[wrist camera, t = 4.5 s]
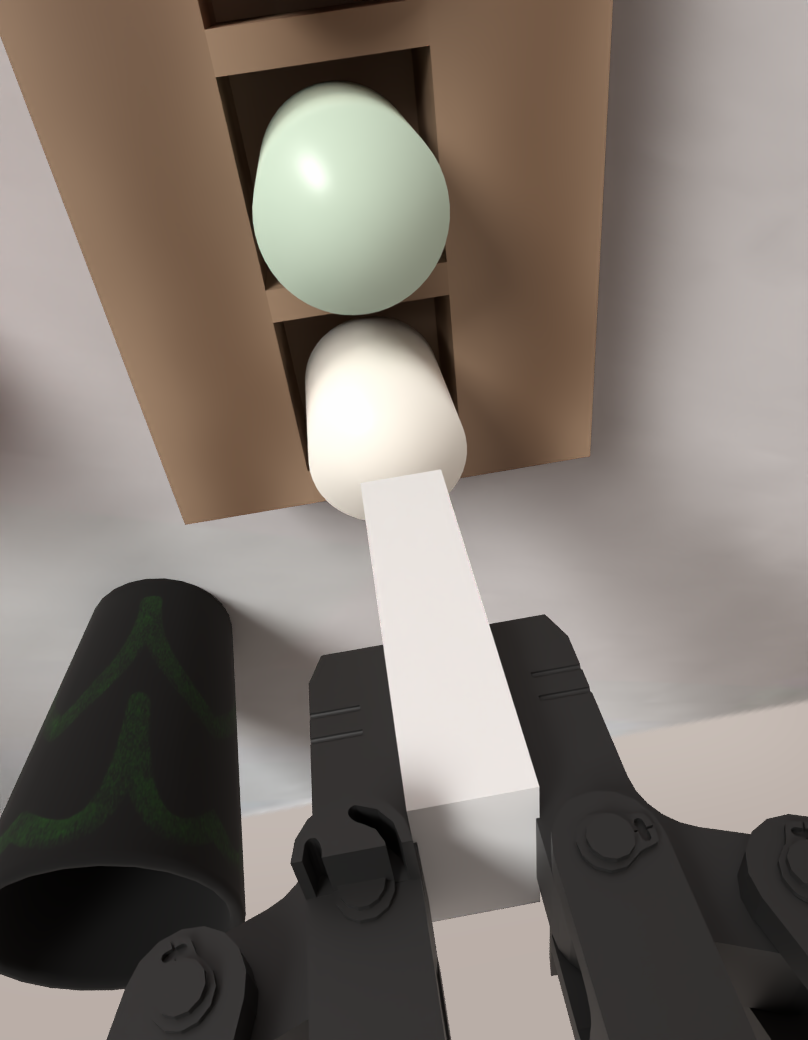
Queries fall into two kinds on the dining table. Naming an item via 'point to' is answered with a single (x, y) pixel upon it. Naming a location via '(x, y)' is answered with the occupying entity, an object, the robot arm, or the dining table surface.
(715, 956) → the robot arm
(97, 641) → the cup
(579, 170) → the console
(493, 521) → the dining table surface
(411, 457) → the white egg
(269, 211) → the pale green rounded piece
